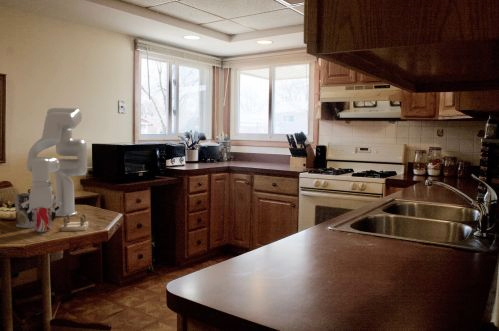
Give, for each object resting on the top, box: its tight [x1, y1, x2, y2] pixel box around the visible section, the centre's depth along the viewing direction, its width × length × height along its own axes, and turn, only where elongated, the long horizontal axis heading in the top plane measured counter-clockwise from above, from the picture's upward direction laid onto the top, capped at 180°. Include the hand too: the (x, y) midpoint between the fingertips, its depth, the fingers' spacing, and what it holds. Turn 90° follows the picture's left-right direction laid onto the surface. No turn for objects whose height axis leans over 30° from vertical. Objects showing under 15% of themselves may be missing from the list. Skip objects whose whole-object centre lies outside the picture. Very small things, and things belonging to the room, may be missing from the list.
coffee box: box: [14, 192, 34, 229], centre depth 207 cm, size 9×6×16 cm
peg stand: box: [60, 213, 89, 232], centre depth 205 cm, size 11×11×6 cm
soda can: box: [33, 207, 52, 233], centre depth 198 cm, size 7×7×12 cm
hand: (42, 220), depth 198 cm, fingers open, 9 cm apart
